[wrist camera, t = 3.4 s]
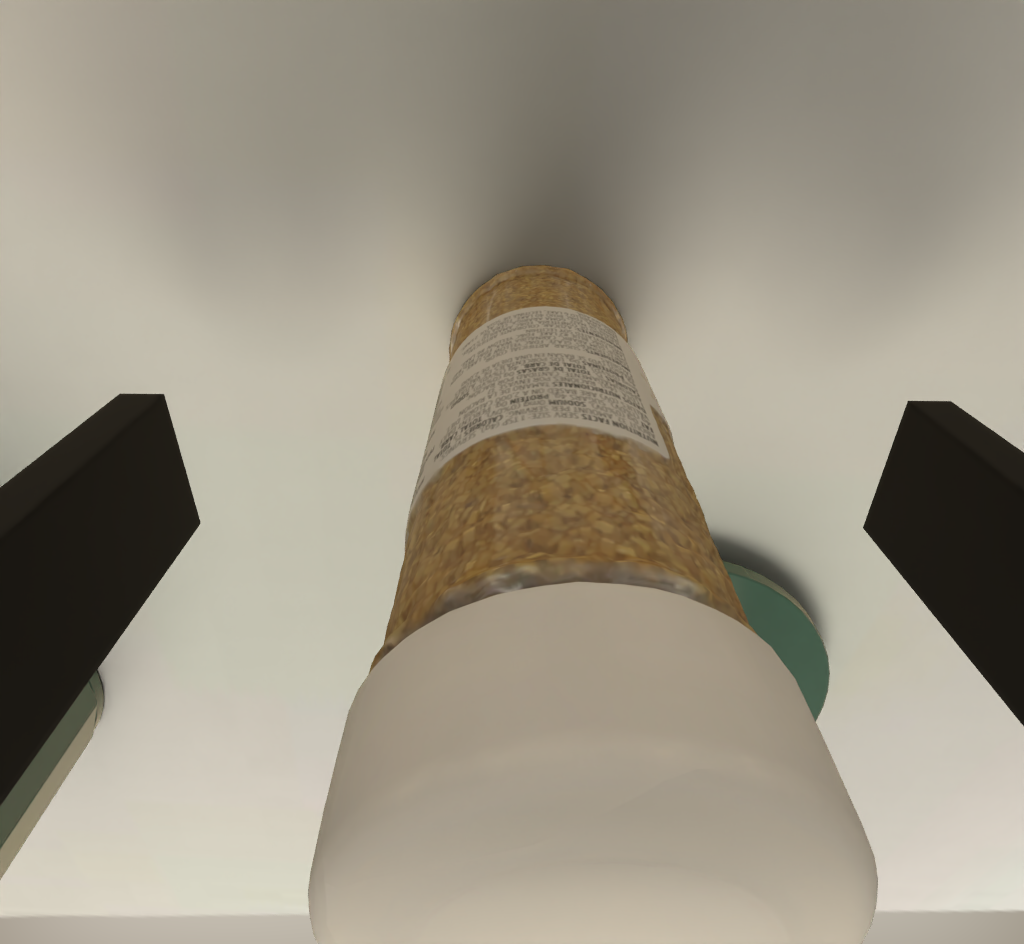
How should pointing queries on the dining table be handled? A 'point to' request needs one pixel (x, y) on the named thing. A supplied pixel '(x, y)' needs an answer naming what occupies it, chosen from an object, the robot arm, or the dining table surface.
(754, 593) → the canister lid
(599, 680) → the sprinkles bottle
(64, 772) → the canister
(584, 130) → the dining table surface
